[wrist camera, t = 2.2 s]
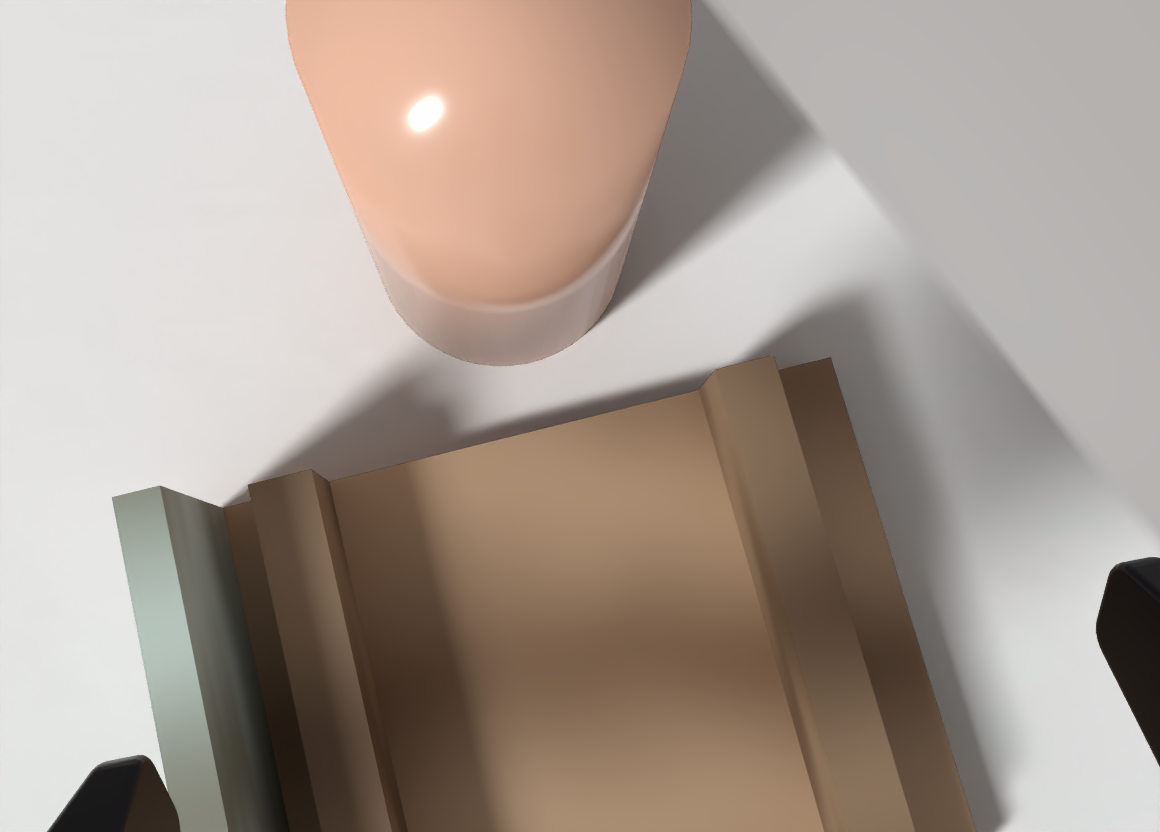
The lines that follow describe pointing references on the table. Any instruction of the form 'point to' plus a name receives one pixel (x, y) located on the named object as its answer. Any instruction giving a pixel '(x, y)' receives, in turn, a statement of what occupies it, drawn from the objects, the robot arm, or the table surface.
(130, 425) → the table surface
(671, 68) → the peach pink cylinder
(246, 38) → the table surface
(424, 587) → the walnut shelf
